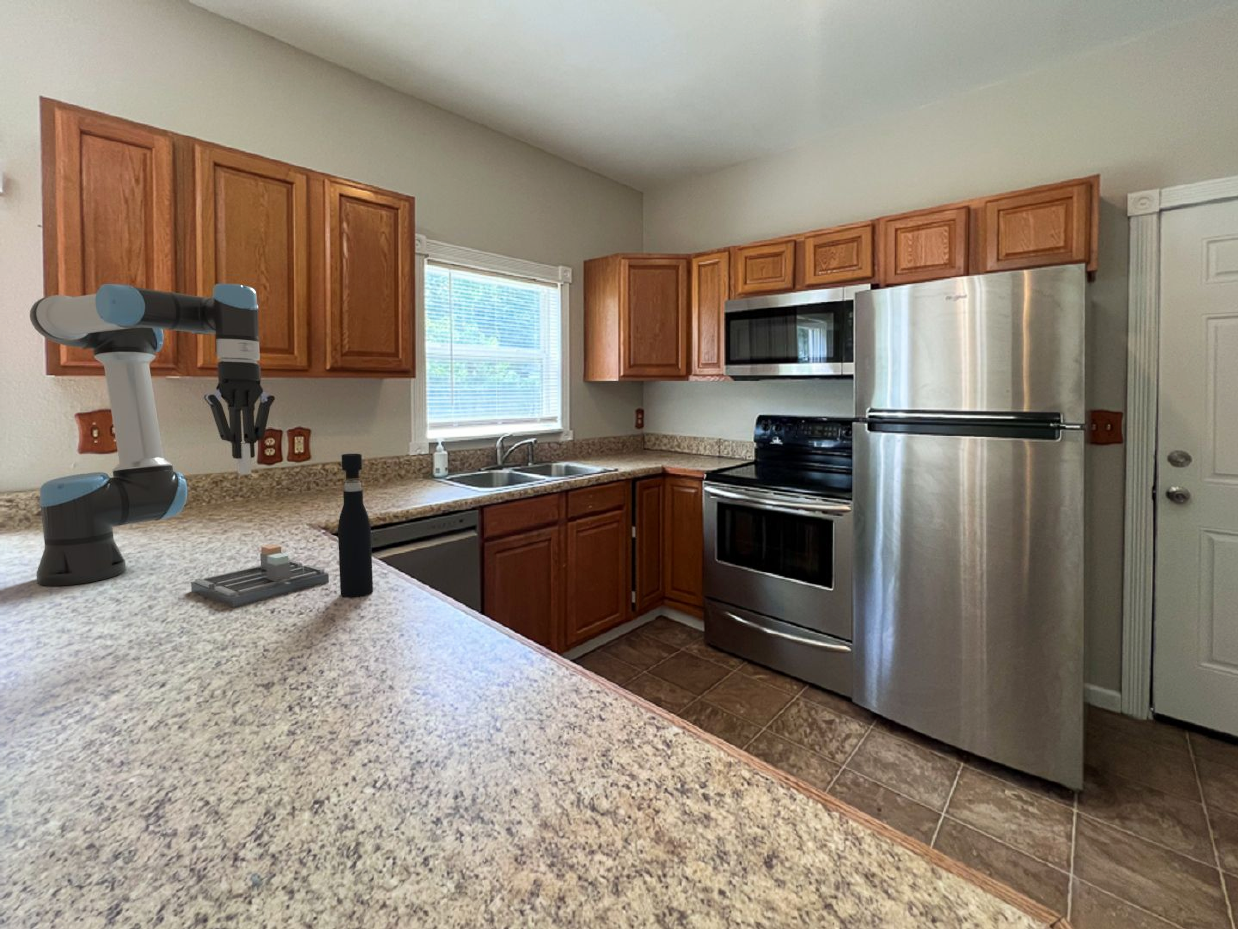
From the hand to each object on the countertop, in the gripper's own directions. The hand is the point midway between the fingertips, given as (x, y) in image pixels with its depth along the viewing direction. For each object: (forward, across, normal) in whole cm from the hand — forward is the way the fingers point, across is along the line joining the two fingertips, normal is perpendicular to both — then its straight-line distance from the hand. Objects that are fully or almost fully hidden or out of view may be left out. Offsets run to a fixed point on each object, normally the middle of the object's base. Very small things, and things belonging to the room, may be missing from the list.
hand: (244, 473), depth 124 cm
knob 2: (+23, +4, -5) cm, 24 cm away
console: (+25, +2, 0) cm, 26 cm away
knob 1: (+23, +7, +4) cm, 25 cm away
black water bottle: (+25, +12, -21) cm, 35 cm away
